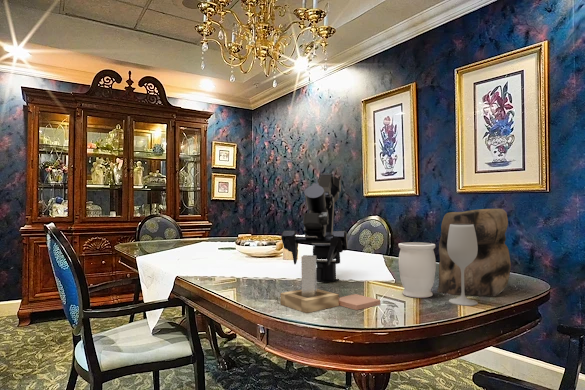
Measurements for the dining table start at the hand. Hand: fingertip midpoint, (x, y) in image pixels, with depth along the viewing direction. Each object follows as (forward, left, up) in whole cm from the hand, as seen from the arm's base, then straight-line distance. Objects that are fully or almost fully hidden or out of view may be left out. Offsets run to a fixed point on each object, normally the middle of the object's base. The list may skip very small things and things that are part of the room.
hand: (311, 263), depth 109 cm
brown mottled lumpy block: (-49, +20, -11) cm, 54 cm away
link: (+2, +2, -11) cm, 11 cm away
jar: (-30, +13, -11) cm, 34 cm away
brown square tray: (+2, +2, -11) cm, 11 cm away
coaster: (-8, +9, -11) cm, 16 cm away
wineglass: (-32, +26, -11) cm, 42 cm away
